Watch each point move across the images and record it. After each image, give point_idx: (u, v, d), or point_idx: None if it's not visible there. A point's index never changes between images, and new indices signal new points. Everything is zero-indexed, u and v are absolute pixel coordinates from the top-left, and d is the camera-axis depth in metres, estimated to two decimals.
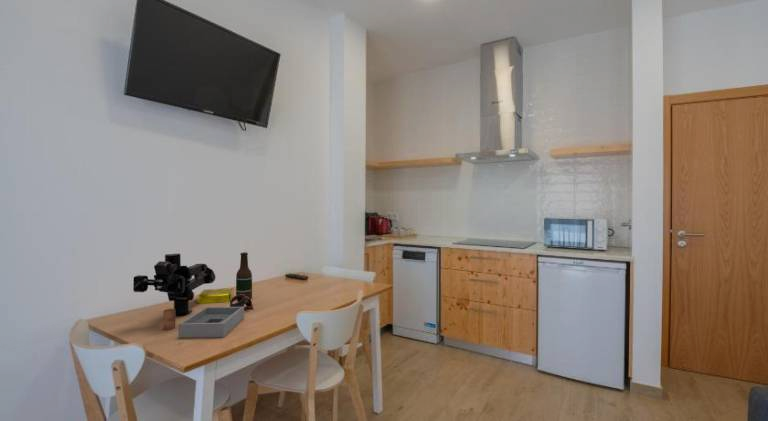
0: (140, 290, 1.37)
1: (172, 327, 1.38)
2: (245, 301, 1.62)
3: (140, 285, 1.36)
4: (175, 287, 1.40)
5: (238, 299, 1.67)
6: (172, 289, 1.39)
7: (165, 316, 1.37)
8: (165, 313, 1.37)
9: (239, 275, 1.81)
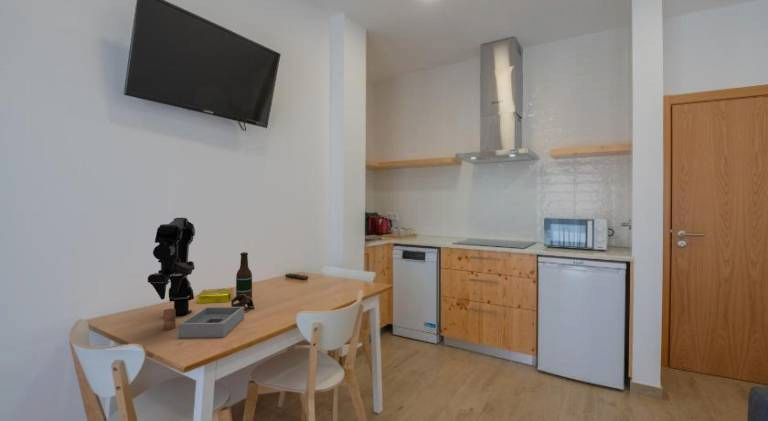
0: None
1: (172, 327, 1.38)
2: (246, 301, 1.62)
3: None
4: None
5: (239, 299, 1.67)
6: None
7: (165, 316, 1.37)
8: (165, 313, 1.37)
9: (239, 275, 1.81)
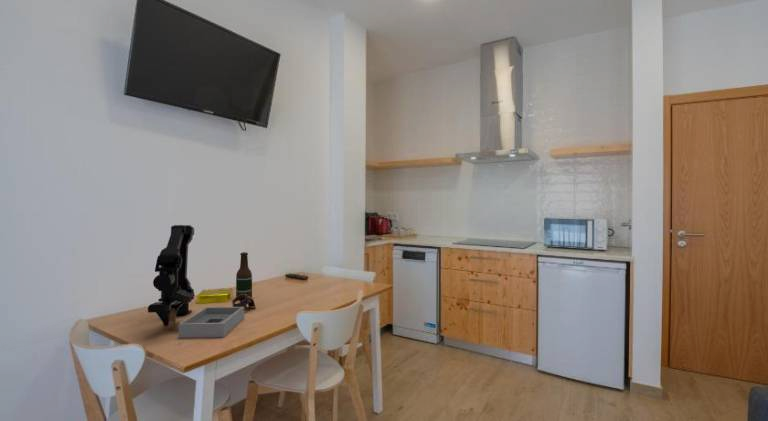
0: None
1: (172, 327, 1.38)
2: (248, 301, 1.62)
3: None
4: None
5: (240, 299, 1.67)
6: None
7: None
8: None
9: (239, 275, 1.81)
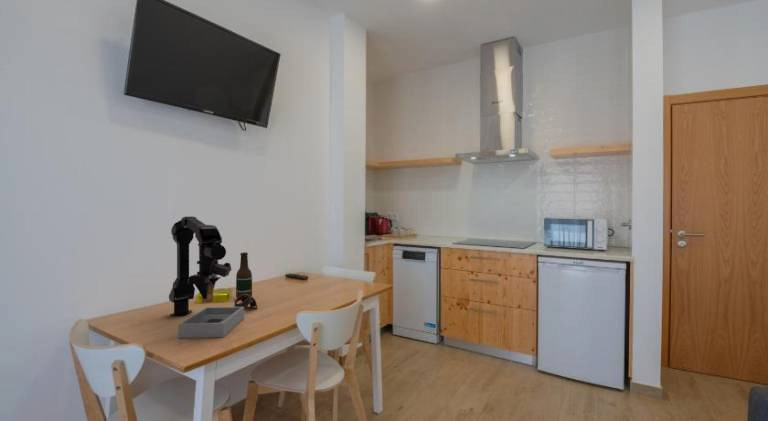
0: None
1: (210, 300, 1.39)
2: (250, 301, 1.62)
3: None
4: None
5: (242, 299, 1.67)
6: None
7: None
8: None
9: (239, 275, 1.81)
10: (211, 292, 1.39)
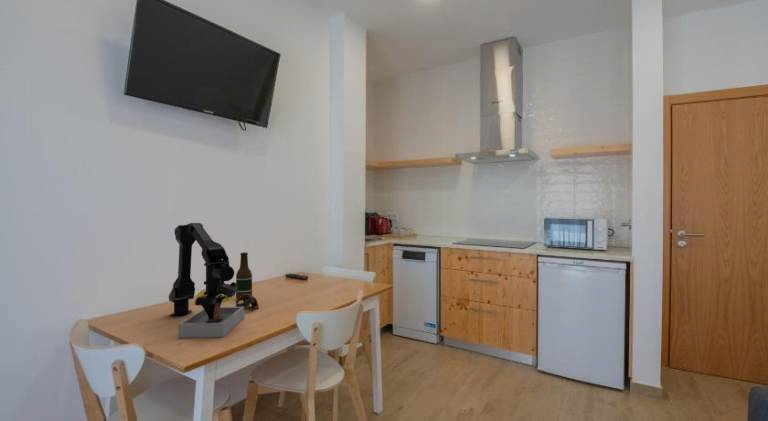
0: None
1: (217, 320, 1.39)
2: (251, 301, 1.62)
3: None
4: None
5: (243, 299, 1.67)
6: None
7: None
8: None
9: (239, 275, 1.81)
10: (218, 312, 1.40)
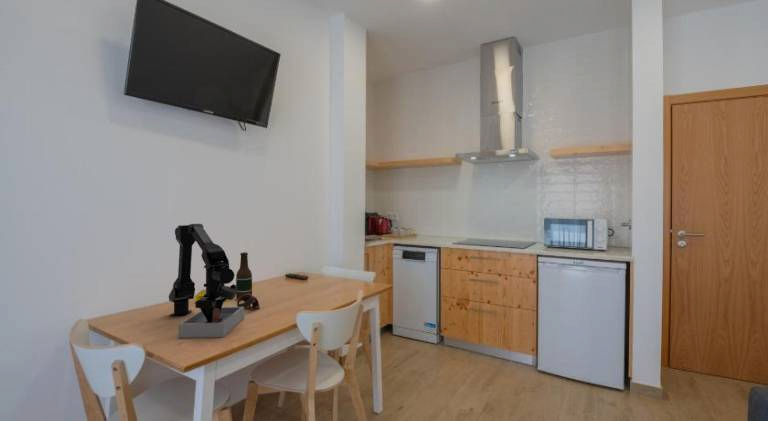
0: None
1: None
2: (252, 301, 1.62)
3: None
4: None
5: (244, 299, 1.67)
6: None
7: None
8: None
9: (239, 275, 1.81)
10: (218, 318, 1.40)
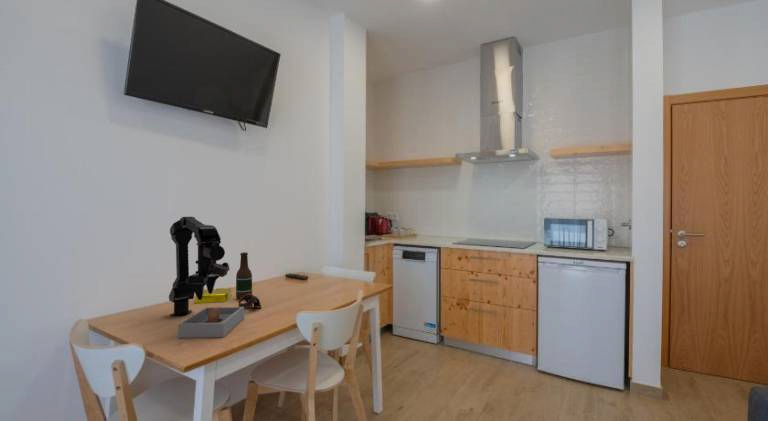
0: None
1: None
2: (254, 301, 1.62)
3: None
4: None
5: (246, 299, 1.67)
6: None
7: (210, 315, 1.38)
8: (210, 312, 1.38)
9: (239, 275, 1.81)
10: (218, 318, 1.40)
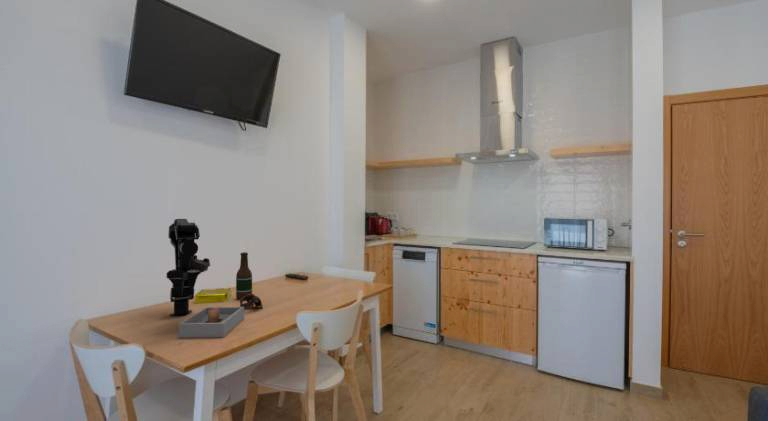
0: None
1: None
2: (255, 301, 1.62)
3: None
4: None
5: (247, 299, 1.67)
6: None
7: (210, 315, 1.38)
8: (210, 312, 1.38)
9: (239, 275, 1.81)
10: (218, 318, 1.40)
